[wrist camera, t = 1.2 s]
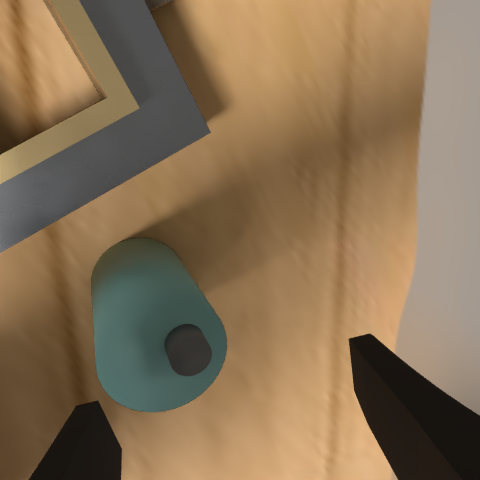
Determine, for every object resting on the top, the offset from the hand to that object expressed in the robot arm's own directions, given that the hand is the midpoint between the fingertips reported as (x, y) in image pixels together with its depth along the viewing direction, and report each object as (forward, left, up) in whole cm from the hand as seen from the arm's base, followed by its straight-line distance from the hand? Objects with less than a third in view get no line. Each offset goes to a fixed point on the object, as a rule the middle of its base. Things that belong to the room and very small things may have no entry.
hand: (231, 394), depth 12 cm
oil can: (-1, 0, -10) cm, 10 cm away
